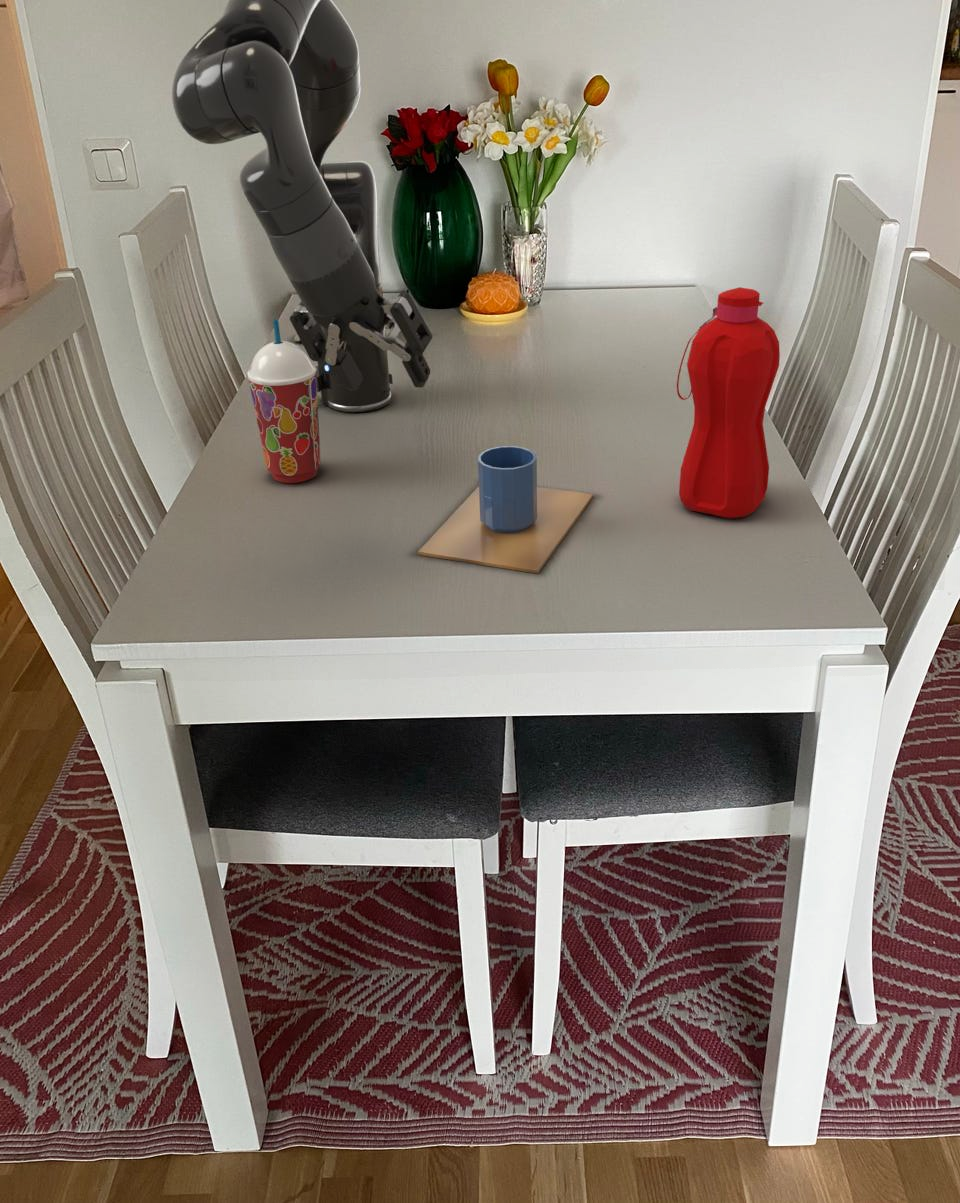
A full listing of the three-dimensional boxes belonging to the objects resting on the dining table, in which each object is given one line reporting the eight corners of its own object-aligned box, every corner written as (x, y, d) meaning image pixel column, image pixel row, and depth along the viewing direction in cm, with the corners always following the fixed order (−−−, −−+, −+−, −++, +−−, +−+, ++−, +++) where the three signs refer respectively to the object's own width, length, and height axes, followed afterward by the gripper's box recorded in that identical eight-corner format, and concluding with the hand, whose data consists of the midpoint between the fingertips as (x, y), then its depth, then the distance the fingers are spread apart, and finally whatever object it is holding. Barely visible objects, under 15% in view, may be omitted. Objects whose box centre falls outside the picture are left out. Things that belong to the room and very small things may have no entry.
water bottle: (685, 478, 141) (698, 274, 129) (772, 495, 136) (795, 284, 124) (656, 508, 134) (666, 294, 122) (746, 527, 129) (767, 306, 117)
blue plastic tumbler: (471, 530, 130) (469, 465, 126) (492, 506, 135) (490, 443, 131) (525, 538, 128) (524, 472, 124) (544, 513, 133) (544, 449, 129)
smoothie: (338, 465, 149) (322, 312, 138) (309, 491, 142) (290, 332, 132) (281, 458, 151) (261, 307, 141) (249, 484, 144) (226, 327, 134)
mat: (418, 554, 126) (417, 551, 126) (484, 482, 142) (484, 479, 142) (538, 574, 122) (538, 570, 122) (593, 497, 138) (593, 494, 137)
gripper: (396, 223, 109) (460, 357, 120) (280, 238, 116) (350, 363, 127) (363, 272, 105) (432, 406, 116) (245, 284, 112) (320, 409, 123)
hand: (389, 384), depth 121 cm, fingers open, 8 cm apart
